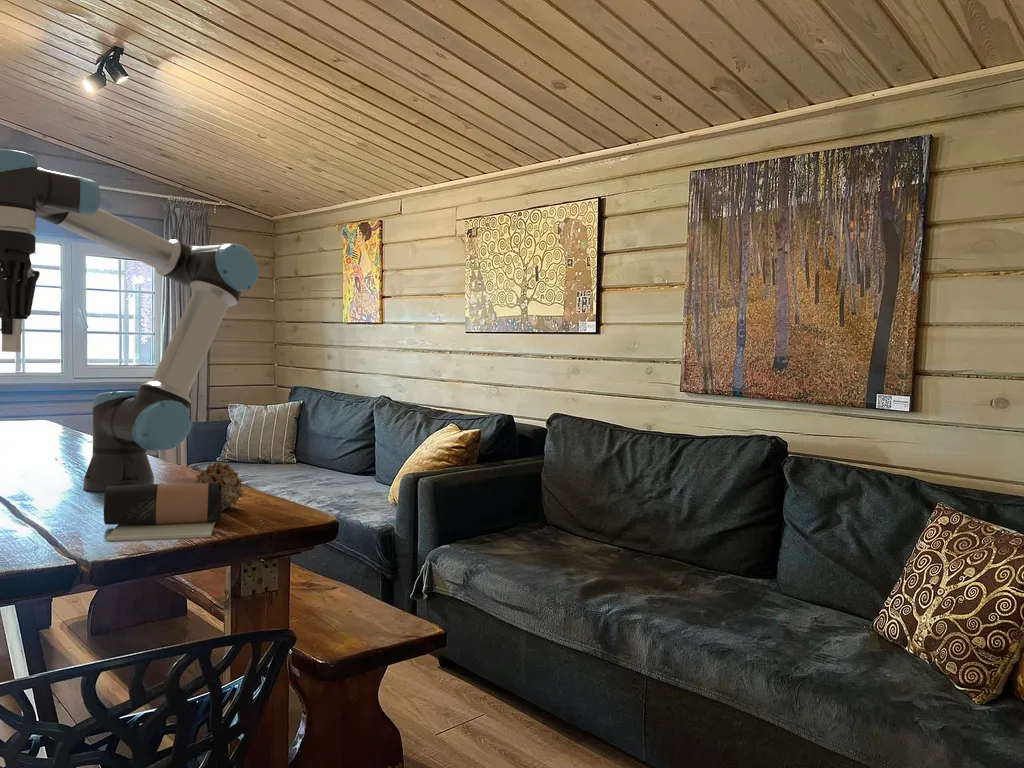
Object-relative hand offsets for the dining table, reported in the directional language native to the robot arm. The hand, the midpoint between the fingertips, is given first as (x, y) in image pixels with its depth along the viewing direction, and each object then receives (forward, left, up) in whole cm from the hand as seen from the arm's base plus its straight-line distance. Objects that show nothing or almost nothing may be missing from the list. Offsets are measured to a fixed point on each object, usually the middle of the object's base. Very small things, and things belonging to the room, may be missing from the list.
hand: (11, 351), depth 145 cm
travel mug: (+8, +24, -28) cm, 38 cm away
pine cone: (-10, +39, -33) cm, 52 cm away
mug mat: (+7, +35, -32) cm, 48 cm away
